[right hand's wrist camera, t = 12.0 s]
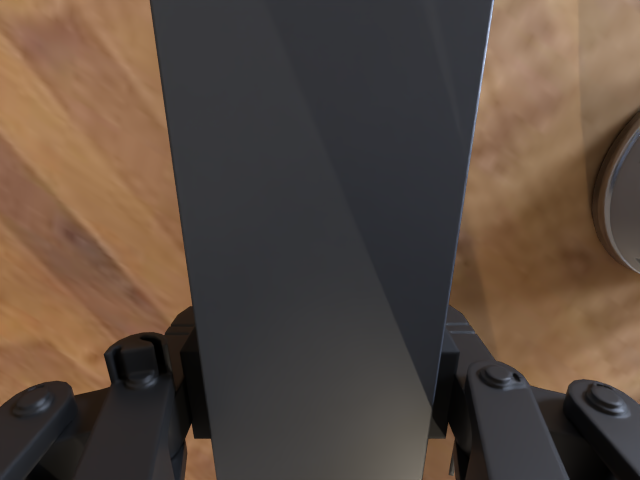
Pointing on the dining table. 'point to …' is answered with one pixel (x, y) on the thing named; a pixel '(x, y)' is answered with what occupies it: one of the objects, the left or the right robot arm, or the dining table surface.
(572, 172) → the dining table surface
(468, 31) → the beam
